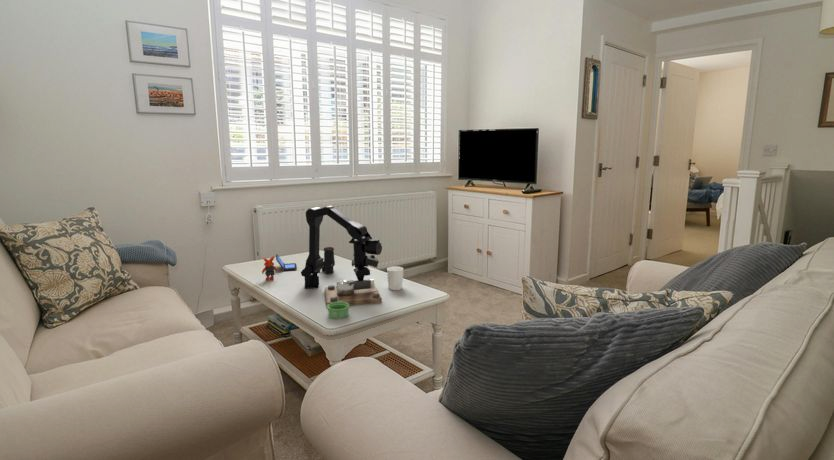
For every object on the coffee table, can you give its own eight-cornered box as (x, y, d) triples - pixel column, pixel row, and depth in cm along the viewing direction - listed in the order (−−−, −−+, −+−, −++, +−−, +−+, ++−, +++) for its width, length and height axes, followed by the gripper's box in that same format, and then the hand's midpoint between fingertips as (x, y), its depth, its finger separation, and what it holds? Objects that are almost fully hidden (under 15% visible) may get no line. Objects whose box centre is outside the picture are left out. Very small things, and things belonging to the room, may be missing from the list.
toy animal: (274, 276, 239) (273, 254, 237) (278, 279, 235) (277, 256, 233) (259, 279, 235) (258, 256, 232) (263, 281, 230) (262, 259, 228)
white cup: (397, 291, 217) (397, 271, 215) (384, 288, 221) (383, 269, 219) (406, 287, 223) (406, 267, 221) (393, 284, 228) (393, 265, 226)
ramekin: (333, 321, 182) (333, 311, 181) (324, 314, 189) (323, 304, 188) (353, 316, 187) (352, 306, 186) (343, 309, 195) (343, 300, 194)
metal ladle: (338, 296, 203) (338, 284, 202) (335, 290, 210) (335, 279, 209) (375, 292, 208) (375, 280, 207) (371, 287, 216) (371, 275, 215)
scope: (331, 245, 251) (338, 248, 242) (332, 268, 253) (339, 273, 245) (317, 246, 246) (324, 250, 238) (318, 271, 249) (325, 275, 241)
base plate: (327, 307, 197) (327, 300, 196) (324, 291, 217) (324, 285, 216) (381, 302, 203) (381, 295, 202) (374, 287, 223) (374, 281, 222)
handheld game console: (297, 270, 251) (296, 257, 249) (276, 272, 248) (275, 259, 246) (296, 264, 262) (295, 252, 261) (276, 266, 259) (276, 253, 258)
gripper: (380, 256, 202) (381, 289, 205) (373, 246, 220) (374, 277, 223) (355, 258, 199) (357, 292, 203) (350, 248, 217) (352, 279, 220)
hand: (361, 284), depth 212 cm, fingers closed
